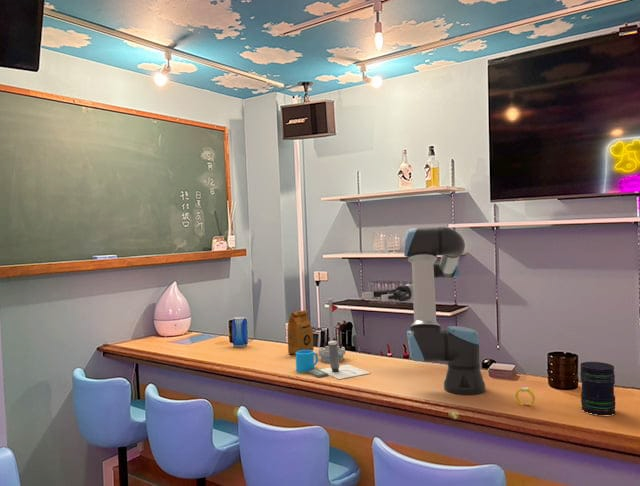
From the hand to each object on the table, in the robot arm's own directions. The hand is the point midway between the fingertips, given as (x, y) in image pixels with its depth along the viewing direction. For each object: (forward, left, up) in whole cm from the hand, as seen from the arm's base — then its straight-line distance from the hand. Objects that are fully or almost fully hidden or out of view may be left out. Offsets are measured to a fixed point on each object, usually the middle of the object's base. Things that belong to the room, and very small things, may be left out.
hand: (371, 297), depth 229 cm
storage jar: (-88, -26, -32) cm, 97 cm away
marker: (+4, +18, -31) cm, 36 cm away
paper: (+2, +15, -32) cm, 35 cm away
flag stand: (+25, +7, -32) cm, 42 cm away
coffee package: (+46, +13, -32) cm, 58 cm away
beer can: (+83, +32, -32) cm, 95 cm away
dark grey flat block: (+6, +26, -32) cm, 42 cm away
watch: (-71, -12, -32) cm, 79 cm away
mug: (+16, +25, -32) cm, 44 cm away
